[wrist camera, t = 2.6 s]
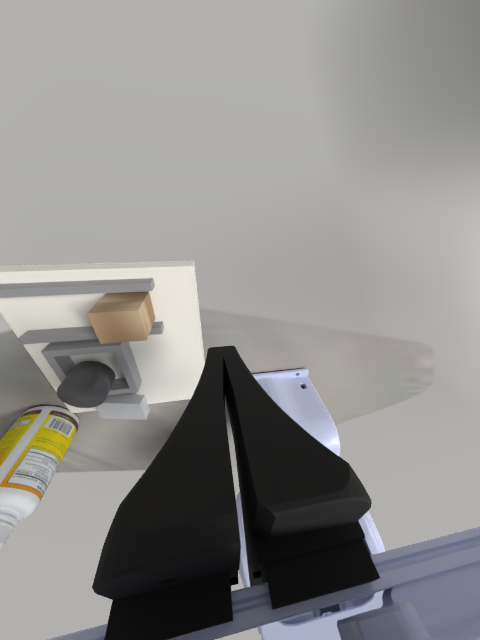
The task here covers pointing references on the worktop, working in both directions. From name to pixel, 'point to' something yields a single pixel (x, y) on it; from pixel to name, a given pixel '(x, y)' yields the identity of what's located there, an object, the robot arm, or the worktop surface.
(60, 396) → the black push button
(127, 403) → the grey rocker switch
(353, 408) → the worktop surface
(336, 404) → the worktop surface
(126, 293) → the tan block
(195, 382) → the switch board
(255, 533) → the robot arm
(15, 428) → the supplement bottle
